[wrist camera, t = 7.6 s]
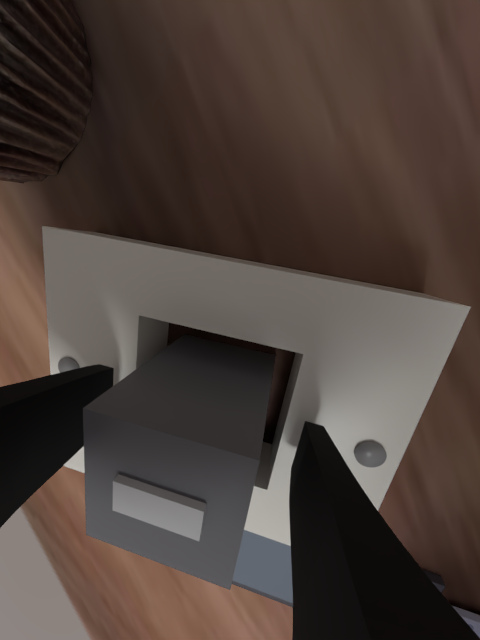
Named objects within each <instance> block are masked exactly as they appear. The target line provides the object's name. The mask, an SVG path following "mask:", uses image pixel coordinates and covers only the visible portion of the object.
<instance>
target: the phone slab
mask: <svg viewBox="0 0 480 640" xmlns="http://www.w3.org/2000/svg"><path fill="white" fill-rule="evenodd" d="M423 571H424V572H425V574H426V575H427V576H428V578H429V579H430V580H431V581H432V583H433V584H434V585H435V586H436V587H437V589H438V590H439V591H440V592H441V593H442V591H443V590H444V588H445V584H444V582H443V580H442V578H441V576H440V575H437V574H434V573H431V572H428V571H425V570H423ZM232 584H234V585H236V586H239V587H241V588H244V589H247V590H249V591H252V592H254V593H257V594H260V595H262V596H265V597H267V598H270V599H273V600H275V601H278V602H281V603H283V604H286V605H288V606H291V607H293V588H292V564H291V546H289V545H286V544H283V543H280V542H278V541H275V540H272V539H269V538H266V537H263V536H261V535H258V534H255V533H252V532H249V531H247V530H244V532H243V536H242V540H241V545H240V549H239V553H238V558H237V562H236V567H235V571H234V575H233V580H232Z"/></svg>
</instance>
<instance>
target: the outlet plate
mask: <svg viewBox="0 0 480 640" xmlns="http://www.w3.org/2000/svg"><path fill="white" fill-rule="evenodd" d="M42 236H43V253H44V270H45V287H46V304H47V321H48V338H49V355H50V372H51V375H53V374H57V373H61V372H65V371H69V370H73V369H77V368H82V367H86V366H91V365H97V364H101V365H104V366H108V367H112V368H114V375H113V386H114V385H115V384H117V383H118V382H120V381H121V380H122V379H124V378H125V377H126V376H128V375H129V374H130V373H132V372H133V371H135V370H136V369H137V368H139V367H140V366H141V365H143V364H144V363H146V362H147V361H148V360H150V359H151V358H152V357H154V356H155V355H156V354H158V353H159V352H161V351H162V350H163V349H165V348H166V347H167V340H168V329H169V323H173V324H178V325H182V326H186V327H190V328H195V329H199V330H203V331H207V332H212V333H216V334H220V335H224V336H228V337H233V338H237V339H241V340H245V341H250V342H254V343H258V344H262V345H267V346H271V347H275V348H279V349H283V350H288V351H292V352H296V353H295V357H294V361H293V365H292V368H291V372H290V376H289V380H288V384H287V388H286V392H285V396H284V399H283V403H282V407H281V411H280V415H279V419H278V423H277V427H276V431H275V434H274V438H273V442H272V444H269V443H266V442H262V449H261V455H260V462H259V466H258V470H257V475H256V479H255V483H254V488H253V492H252V497H251V501H250V505H249V510H248V514H247V518H246V523H245V527H244V530H247V531H249V532H252V533H255V534H258V535H261V536H263V537H266V538H269V539H272V540H275V541H278V542H280V543H283V544H286V545H289V546H291V541H290V515H289V493H290V477H291V467H292V463H293V460H294V457H295V453H296V450H297V447H298V443H299V440H300V436H301V433H302V430H303V426H304V423H305V421H307V422H311V423H315V424H318V425H322V426H324V427H325V429H326V431H327V432H328V434H329V436H330V437H331V439H332V441H333V442H334V444H335V446H336V447H337V449H338V451H339V452H340V454H341V456H342V457H343V459H344V461H345V462H346V464H347V465H348V467H349V469H350V470H351V472H352V473H353V475H354V477H355V478H356V480H357V481H358V483H359V484H360V486H361V487H362V489H363V490H364V492H365V493H366V495H367V496H368V498H369V499H370V501H371V502H372V504H373V505H374V506H375V508H376V509H377V511H378V510H379V507H380V505H381V503H382V501H383V499H384V496H385V494H386V492H387V490H388V488H389V485H390V483H391V481H392V479H393V477H394V474H395V472H396V470H397V468H398V466H399V464H400V461H401V459H402V457H403V455H404V453H405V450H406V448H407V446H408V444H409V442H410V439H411V437H412V435H413V433H414V431H415V428H416V426H417V424H418V422H419V420H420V418H421V415H422V413H423V411H424V409H425V407H426V404H427V402H428V400H429V398H430V396H431V393H432V391H433V389H434V387H435V385H436V382H437V380H438V378H439V376H440V374H441V371H442V369H443V367H444V365H445V363H446V361H447V358H448V356H449V354H450V352H451V350H452V347H453V345H454V343H455V341H456V339H457V336H458V334H459V332H460V330H461V328H462V325H463V323H464V321H465V319H466V317H467V315H468V312H469V310H470V308H471V307H470V306H466V305H463V304H459V303H456V302H452V301H449V300H445V299H442V298H438V297H435V296H431V295H428V294H424V293H419V292H414V291H408V290H403V289H398V288H392V287H387V286H381V285H376V284H371V283H365V282H360V281H355V280H349V279H344V278H339V277H333V276H328V275H323V274H317V273H312V272H306V271H301V270H296V269H290V268H285V267H280V266H274V265H269V264H264V263H258V262H253V261H247V260H242V259H237V258H231V257H226V256H221V255H215V254H210V253H205V252H199V251H194V250H189V249H183V248H178V247H172V246H167V245H162V244H156V243H151V242H146V241H140V240H135V239H130V238H124V237H119V236H114V235H108V234H103V233H97V232H91V231H82V230H74V229H65V228H57V227H49V226H42ZM63 466H66V467H68V468H71V469H74V470H77V471H80V472H83V473H85V468H84V446H83V447H82V448H81V449H80V450H79V451H78V452H77V453H76V454H75V455H74V456H73V457H72V458H71V459H70V460H69V461H67V462H66V463H65V464H64V465H63Z"/></svg>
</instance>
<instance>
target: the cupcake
mask: <svg viewBox="0 0 480 640" xmlns="http://www.w3.org/2000/svg"><path fill="white" fill-rule="evenodd" d="M90 64H91V60H90V57H89V54H88V51H87V46H86V40H85V34H84V28H83V25H82V23H81V21H80V19H79V17H78V15H77V13H76V11H75V9H74V7H73V5H72V4H71V2H70V0H0V180H4V181H11V182H19V183H24V182H27V181H42V180H44V179H45V178H46V177H47V176H48V175H57V174H58V171H59V169H60V166H61V164H62V161H63V160H64V159H65V158H66V156H67V155H68V154H69V153H70V152H71V151H72V150H73V149H74V148H75V146H76V145H77V144H78V142H79V141H80V140H81V137H82V134H83V132H84V129H85V126H86V119H87V116H88V114H89V112H90V102H91V99H92V96H93V93H92V74H91V71H90Z"/></svg>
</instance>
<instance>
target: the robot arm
mask: <svg viewBox="0 0 480 640" xmlns="http://www.w3.org/2000/svg"><path fill="white" fill-rule="evenodd" d="M113 375H114V368H112V367H108V366H104V365H101V364H97V365H91V366H86V367H82V368H77V369H73V370H69V371H65V372H61V373H57V374H53V375H49V376H45V377H41V378H37V379H33V380H29V381H25V382H21V383H16V384H12V385H7V386H3V387H0V527H1V526H2V525H3V524H4V523H5V522H6V521H7V520H8V519H9V518H10V517H11V515H12V514H13V513H14V512H15V511H16V510H17V509H18V508H19V507H20V506H21V505H22V504H23V503H24V502H25V501H26V500H27V499H28V498H29V497H30V496H31V495H32V494H33V493H34V492H35V491H37V490H38V489H39V488H40V487H41V486H42V485H43V484H44V483H45V482H46V481H47V480H48V479H49V478H50V477H51V476H53V475H54V474H55V473H56V472H57V471H58V470H59V469H60V468H61V467H62V466H63V465H64V464H65V463H66V462H67V461H69V460H70V459H71V458H72V457H73V456H74V455H75V454H76V453H77V452H78V451H79V450H80V449H81V448H82V447H83V446H84V432H83V408H84V407H85V406H87V405H88V404H89V403H91V402H92V401H94V400H95V399H96V398H98V397H99V396H100V395H102V394H103V393H104V392H106V391H107V390H109V389H110V388H111V387H113ZM289 515H290V541H291V564H292V588H293V640H480V615H478V614H475V613H472V612H469V611H467V610H464V609H461V608H458V607H455V606H452V605H451V604H450V603H449V602H448V601H447V599H446V598H445V597H444V596H443V595H442V593H441V592H440V591H439V590H438V589H437V587H436V586H435V585H434V584H433V583H432V581H431V580H430V579H429V578H428V576H427V575H426V574H425V572H424V571H423V570H422V569H421V567H420V566H419V565H418V564H417V562H416V561H415V560H414V559H413V557H412V556H411V555H410V554H409V552H408V551H407V550H406V549H405V547H404V546H403V545H402V543H401V542H400V541H399V539H398V538H397V537H396V535H395V534H394V533H393V531H392V530H391V529H390V527H389V526H388V525H387V523H386V522H385V520H384V519H383V518H382V516H381V515H380V513H379V512H378V511H377V509H376V508H375V506H374V505H373V504H372V502H371V501H370V499H369V498H368V496H367V495H366V493H365V492H364V490H363V489H362V487H361V486H360V484H359V483H358V481H357V480H356V478H355V477H354V475H353V473H352V472H351V470H350V469H349V467H348V465H347V464H346V462H345V461H344V459H343V457H342V456H341V454H340V452H339V451H338V449H337V447H336V446H335V444H334V442H333V441H332V439H331V437H330V436H329V434H328V432H327V431H326V429H325V427H324V426H322V425H318V424H315V423H311V422H307V421H305V423H304V426H303V430H302V433H301V436H300V440H299V443H298V447H297V450H296V453H295V457H294V460H293V463H292V467H291V477H290V493H289Z"/></svg>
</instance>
